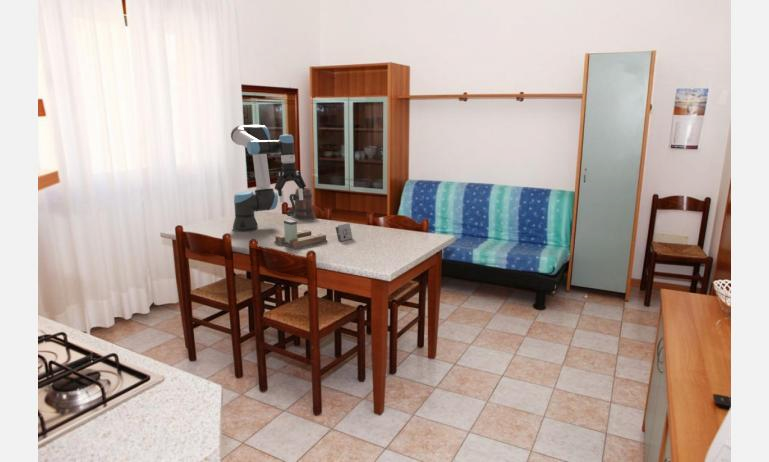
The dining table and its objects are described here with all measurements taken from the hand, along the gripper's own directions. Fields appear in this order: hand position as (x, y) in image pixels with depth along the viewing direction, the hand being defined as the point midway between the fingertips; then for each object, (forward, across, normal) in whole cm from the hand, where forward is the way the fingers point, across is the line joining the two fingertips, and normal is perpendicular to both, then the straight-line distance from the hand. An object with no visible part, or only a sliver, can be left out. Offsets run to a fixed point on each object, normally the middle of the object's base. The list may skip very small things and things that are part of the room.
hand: (291, 201), depth 277 cm
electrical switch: (+25, +24, -14) cm, 38 cm away
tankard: (+15, +46, +50) cm, 69 cm away
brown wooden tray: (+24, +3, -2) cm, 24 cm away
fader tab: (+23, -4, -2) cm, 23 cm away
